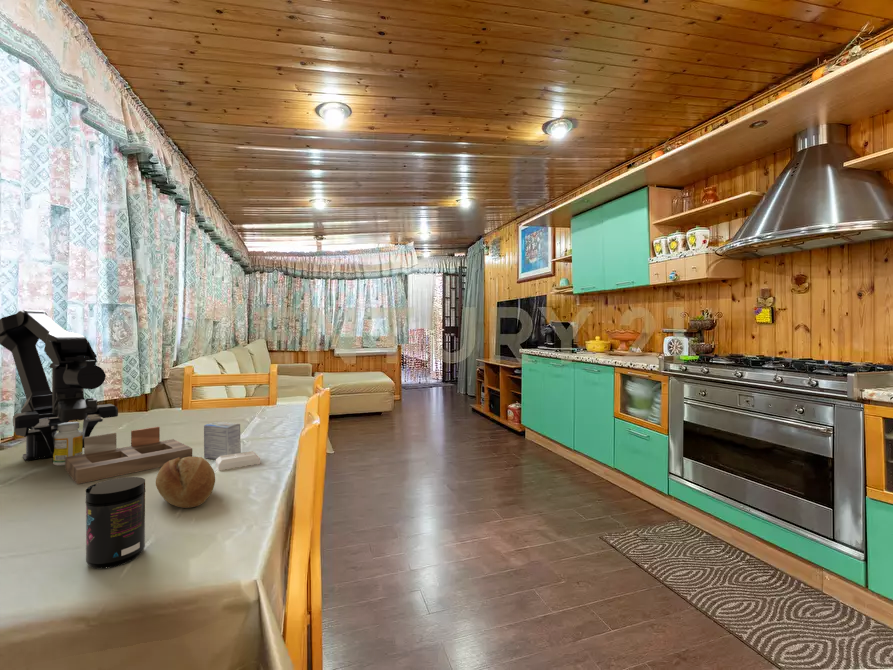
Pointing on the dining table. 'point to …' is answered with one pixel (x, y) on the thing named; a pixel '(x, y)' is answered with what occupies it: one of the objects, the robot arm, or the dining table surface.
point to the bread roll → (186, 481)
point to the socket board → (123, 455)
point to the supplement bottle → (67, 442)
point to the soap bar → (237, 460)
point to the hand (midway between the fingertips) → (68, 450)
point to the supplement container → (115, 521)
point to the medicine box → (221, 439)
